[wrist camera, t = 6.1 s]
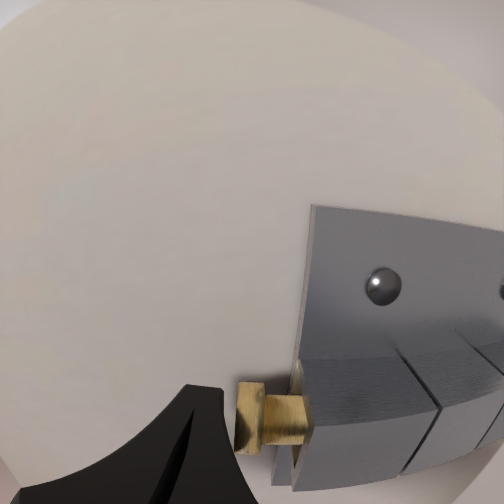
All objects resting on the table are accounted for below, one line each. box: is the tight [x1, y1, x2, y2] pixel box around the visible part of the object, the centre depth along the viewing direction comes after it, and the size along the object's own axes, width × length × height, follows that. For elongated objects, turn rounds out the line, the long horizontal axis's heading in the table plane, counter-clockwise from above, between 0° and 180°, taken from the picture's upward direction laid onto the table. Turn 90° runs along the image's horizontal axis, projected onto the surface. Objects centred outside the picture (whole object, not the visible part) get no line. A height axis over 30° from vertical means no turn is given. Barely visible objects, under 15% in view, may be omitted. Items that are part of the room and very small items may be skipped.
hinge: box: [271, 204, 504, 492], centre depth 8 cm, size 14×12×4 cm
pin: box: [234, 381, 308, 455], centre depth 8 cm, size 3×14×3 cm, turn 87°
